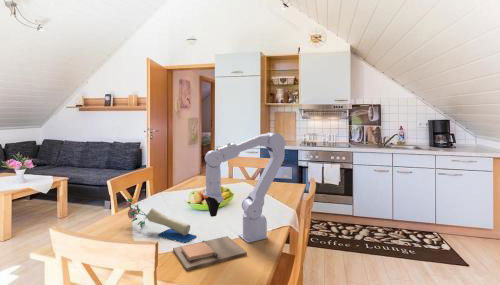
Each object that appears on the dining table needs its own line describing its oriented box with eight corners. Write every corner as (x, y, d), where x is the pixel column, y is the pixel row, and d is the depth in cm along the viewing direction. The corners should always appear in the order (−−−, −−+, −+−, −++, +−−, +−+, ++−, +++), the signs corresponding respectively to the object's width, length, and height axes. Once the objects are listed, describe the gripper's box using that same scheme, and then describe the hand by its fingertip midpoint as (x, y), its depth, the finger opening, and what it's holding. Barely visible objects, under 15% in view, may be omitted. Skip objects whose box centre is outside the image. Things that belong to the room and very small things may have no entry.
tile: (181, 246, 103) (181, 249, 103) (189, 257, 95) (189, 260, 95) (204, 242, 108) (204, 245, 108) (214, 251, 100) (214, 255, 100)
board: (227, 238, 116) (227, 233, 116) (246, 254, 102) (246, 248, 102) (173, 250, 105) (172, 244, 105) (186, 270, 92) (186, 264, 91)
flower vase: (178, 255, 117) (114, 225, 129) (195, 236, 127) (134, 210, 139) (177, 233, 112) (111, 204, 124) (195, 215, 122) (132, 190, 134)
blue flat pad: (185, 242, 111) (157, 234, 118) (185, 245, 112) (157, 236, 118) (197, 235, 118) (169, 228, 125) (197, 238, 118) (169, 230, 125)
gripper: (196, 179, 115) (197, 212, 117) (210, 186, 103) (210, 223, 104) (213, 177, 119) (213, 209, 120) (228, 184, 107) (228, 220, 108)
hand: (213, 215), depth 112 cm, fingers closed
